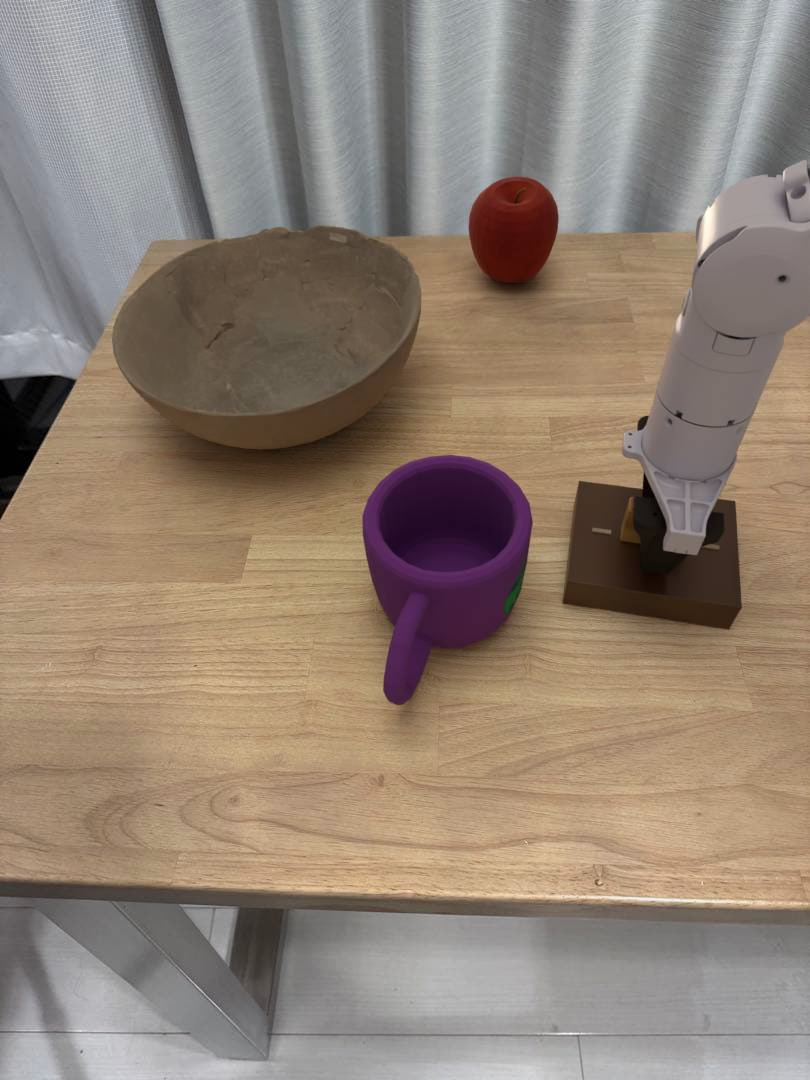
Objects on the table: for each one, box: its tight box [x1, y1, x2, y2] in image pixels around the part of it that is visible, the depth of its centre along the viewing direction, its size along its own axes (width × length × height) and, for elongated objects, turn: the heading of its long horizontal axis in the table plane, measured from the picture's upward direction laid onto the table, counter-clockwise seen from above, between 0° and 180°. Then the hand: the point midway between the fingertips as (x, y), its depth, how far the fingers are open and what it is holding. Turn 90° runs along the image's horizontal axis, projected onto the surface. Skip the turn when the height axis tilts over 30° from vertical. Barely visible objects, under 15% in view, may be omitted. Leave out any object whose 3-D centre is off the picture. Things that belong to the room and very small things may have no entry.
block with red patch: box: [620, 497, 641, 544], centre depth 53 cm, size 5×1×4 cm, turn 77°
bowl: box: [111, 224, 422, 450], centre depth 68 cm, size 28×28×10 cm
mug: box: [362, 454, 533, 706], centre depth 50 cm, size 17×11×10 cm, turn 160°
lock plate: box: [562, 480, 743, 630], centre depth 55 cm, size 12×10×3 cm
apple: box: [467, 176, 560, 284], centre depth 78 cm, size 10×10×10 cm
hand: (655, 535), depth 54 cm, fingers open, 5 cm apart
